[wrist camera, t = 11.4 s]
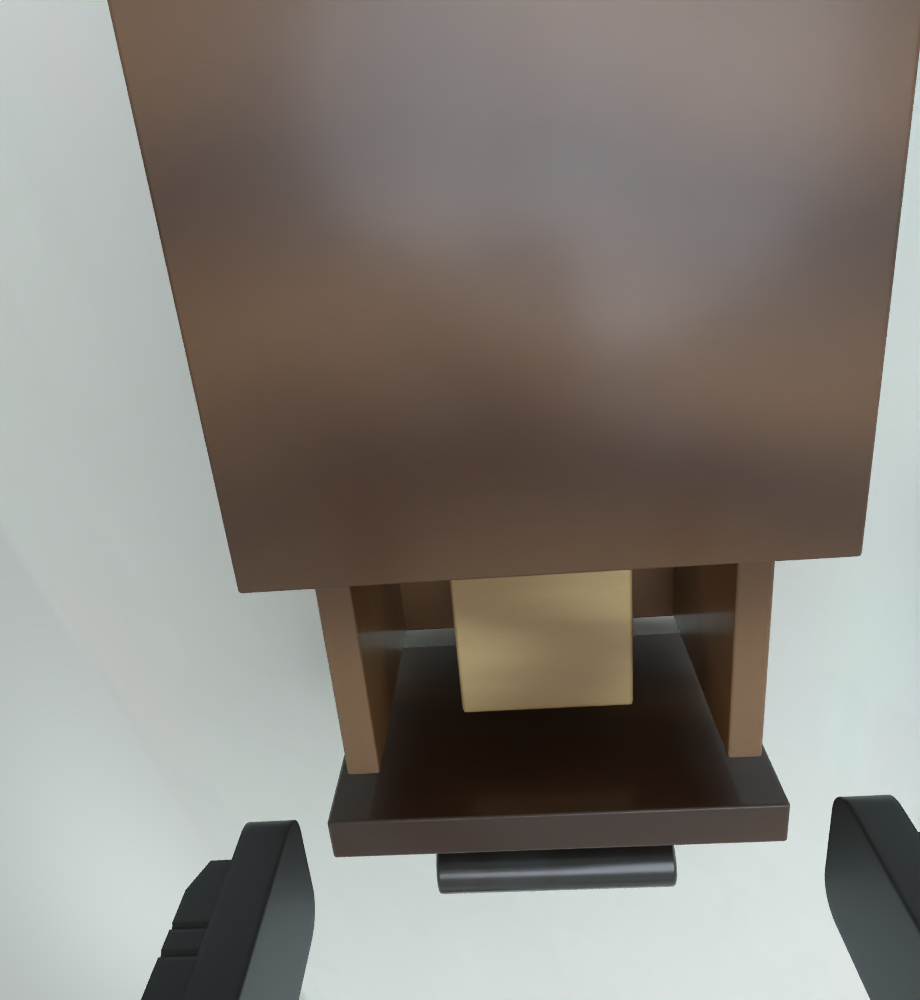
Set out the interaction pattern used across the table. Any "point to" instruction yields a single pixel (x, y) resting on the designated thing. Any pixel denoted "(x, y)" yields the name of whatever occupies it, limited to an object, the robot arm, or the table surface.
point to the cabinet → (527, 274)
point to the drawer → (556, 743)
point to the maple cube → (544, 640)
